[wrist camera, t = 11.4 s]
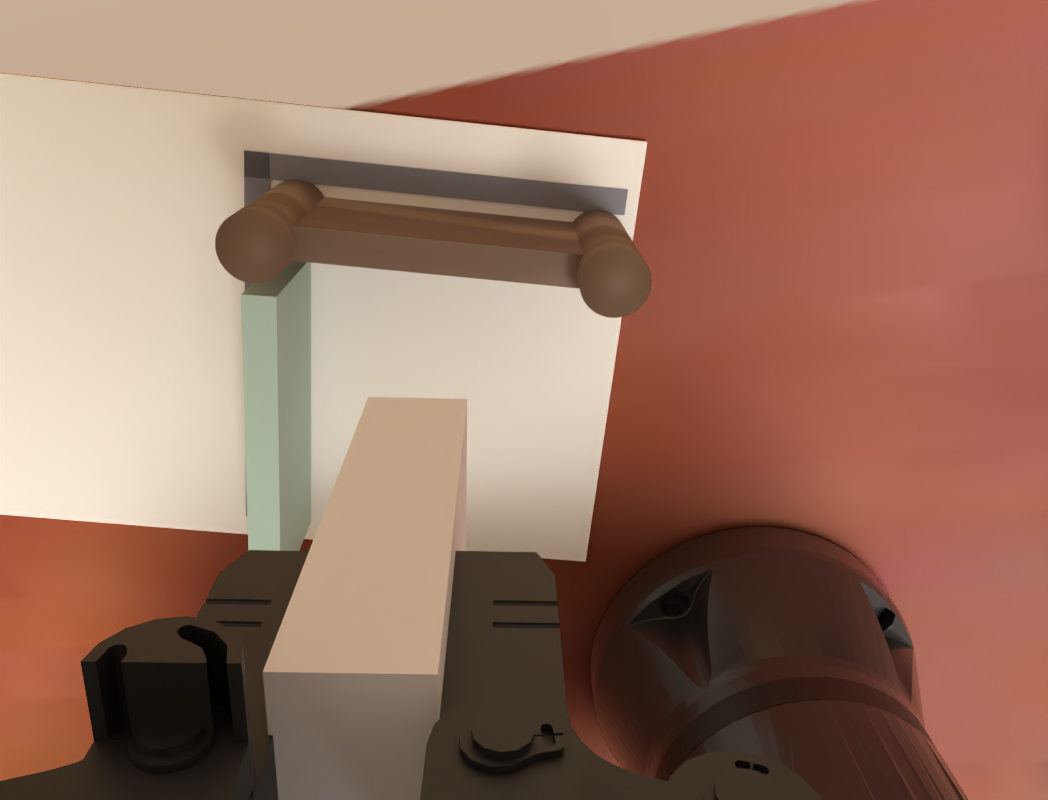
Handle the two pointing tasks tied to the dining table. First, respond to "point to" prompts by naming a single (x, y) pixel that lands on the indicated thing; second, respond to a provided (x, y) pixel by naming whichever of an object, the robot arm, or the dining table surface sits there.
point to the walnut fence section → (435, 244)
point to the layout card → (336, 307)
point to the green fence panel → (278, 408)
